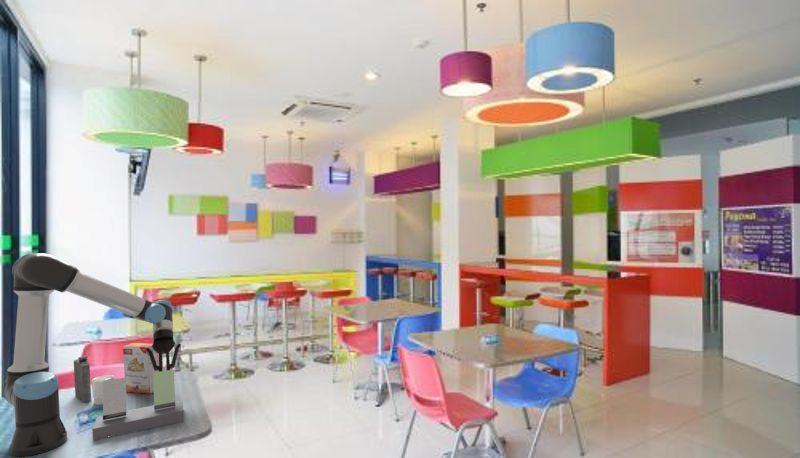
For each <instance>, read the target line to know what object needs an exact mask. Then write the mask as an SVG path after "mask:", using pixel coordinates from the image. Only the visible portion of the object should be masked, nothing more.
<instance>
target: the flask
mask: <svg viewBox="0 0 800 458" xmlns="http://www.w3.org/2000/svg"><path fill="white" fill-rule="evenodd" d="M90 368H91V367H90V362H89V361H88V356H87V355H82V356H79V357H78V359H74V360H73V375H74V376H73V377H74V392H75V393H74V394H75V397H76V398H79V399H80V400H82V403H85V404H86V403H87V404H88V403H91V401H92V385H91V369H90Z"/></svg>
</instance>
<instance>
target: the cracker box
mask: <svg viewBox="0 0 800 458" xmlns="http://www.w3.org/2000/svg"><path fill="white" fill-rule="evenodd" d="M152 345H153V343H145V342H131V343H129V344H125V345H123V346H122V347H123V348H122V350H123V352H122V353H123V354H122V355H123V368H124V369H123V370H124V373H123V374H124V378H125V377H126V393H134V394H135V393H136V394H144V393H145V394H147V395H151V394H154V384H153V373H155V372H159V371H158V370H157V371H155V370H154V368H153V365H152V362H151V359H150V356H149V355H148V354H147V353H146V349H147V348H151V347H152ZM153 355H154V358H155V361H156V364H157V366H159V354H158V353H157V352H156V351H155V350H153Z"/></svg>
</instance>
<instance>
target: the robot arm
mask: <svg viewBox="0 0 800 458" xmlns="http://www.w3.org/2000/svg"><path fill="white" fill-rule="evenodd" d="M11 269H12V270H11V274H12V275H11V276H12V277H13V289H12V290H13V292H14V293H15V294H16V295H17V296H18V298H17V299H18V300H17V311H16V325H15V338H14V350H13V351H14V353H13V363H12V365H11V366H9V367H8V368H7V370H6V371H7V372H6V380H5V381H4V383H3V386H2V395H3V397H4V399H5V400H6V401H7V402H8V403H9V404H10V405H12V407H14V420H15V421H14V424H15V429H14V433H13V435H12V438H11V442H10V445H9V455H10V456H11V457H15V456H24V457H29V455H31V456H34V455H39V454H42V453H45V452H48V451H51V450H53V449H55V448H58V447H59V446H61V445H63V444H64V443H65V442H66V441H67V440H68V431H67V429H66V427H65V425H64V423H63V421H62V419H61V417H60V416H61V415H60V413H61V412H60V397H59V396H60V393H59V391H60V390H59V385H60V383H59V380H58V379H59V378H58V376H57V374H56V373H54V372H51V371H50V365H49V363H47V362H46V361H45V357H46V355H45V354H46V342H47V329H48V316H49V315H48V313H49V302H50V300H49V299H50V295H51V294H52V293H53V292H54V291H57V292H59V293H66V292H68V293H70V294H74V295H76V296H79V297H81V298H84V299H87V300H89V301H92V302H94V303H96V304H100V305H102V306H105V307H108V308H111V309H112V310H116V311H118V312H120V313H121V315H122V317H124V318H129V319H135V320H139V321H141V322H142V321H143V322H146V323H149V324H152V332H153V333H152V341H153V343H152V344H153V345H152V347H151V348H147V349H146V353H147V354H148V355H149V356H150V359H151V362H152V365H153V368H154V370H155V371H157V370H158V371H159V372H161V371H167V370H172V369H174V368H175V367H176V364H177V359H178V355H179V352H180V350H181V348H182V344H181V343H176V341H175V339H174V338H175V337H174V323H173V321H174V320H173V306H172V303H171V301H169V300H167V299H162V300H161V299H159V300H156V301H155V302H152V301H150V300H147V299H145V298H143V297H141V296H139V295H138V296H137V295H136V294H133V293H131V292H128V291H126V290H124V289H122V288H119V287H116V286H114V285H111V284H109V283H108V282H105V281H102V280H100V279H97V278H95V277H94V276H93V277H92V276H90V275H87V274H86V273H83V272H81V271H80V269H79V267H76V266H74V265H72V264H70V263H68V262H66V261H64V260H62V259H60V258H58V257H57V256H54V255H52V254H50V253H39V252H31V253H26V254H24V255H22V256H20V257H19V258H18V259H16V261H15V262H14V263H13V265H12V267H11ZM173 349H174V351H173V356H172V360H171V362H170V359H171V358H170V353H171V351H172V350H173ZM153 350H155V351H156V352H157V353H158V362H159V366H157V364H156V361H155V358H154V355H153ZM163 354H165V361H166V363H165V364H166V365H165V366H166V367H163V366H164V365H163Z"/></svg>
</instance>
